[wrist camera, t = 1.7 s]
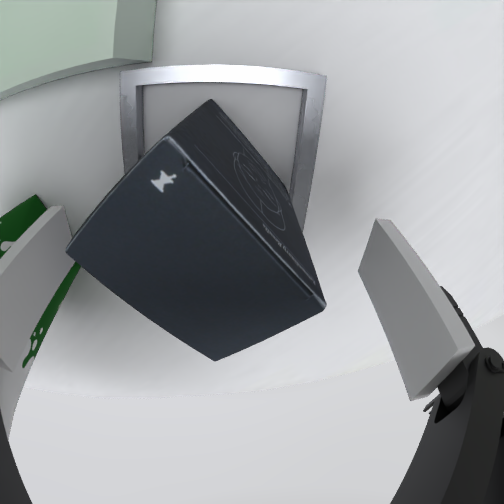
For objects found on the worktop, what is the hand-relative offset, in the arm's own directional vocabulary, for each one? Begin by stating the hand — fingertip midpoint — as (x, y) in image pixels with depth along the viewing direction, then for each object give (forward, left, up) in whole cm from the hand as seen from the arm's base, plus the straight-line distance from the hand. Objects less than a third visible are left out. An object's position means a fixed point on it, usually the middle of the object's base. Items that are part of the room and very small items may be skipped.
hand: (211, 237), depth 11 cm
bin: (-12, +15, -8) cm, 21 cm away
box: (0, 0, -8) cm, 8 cm away
